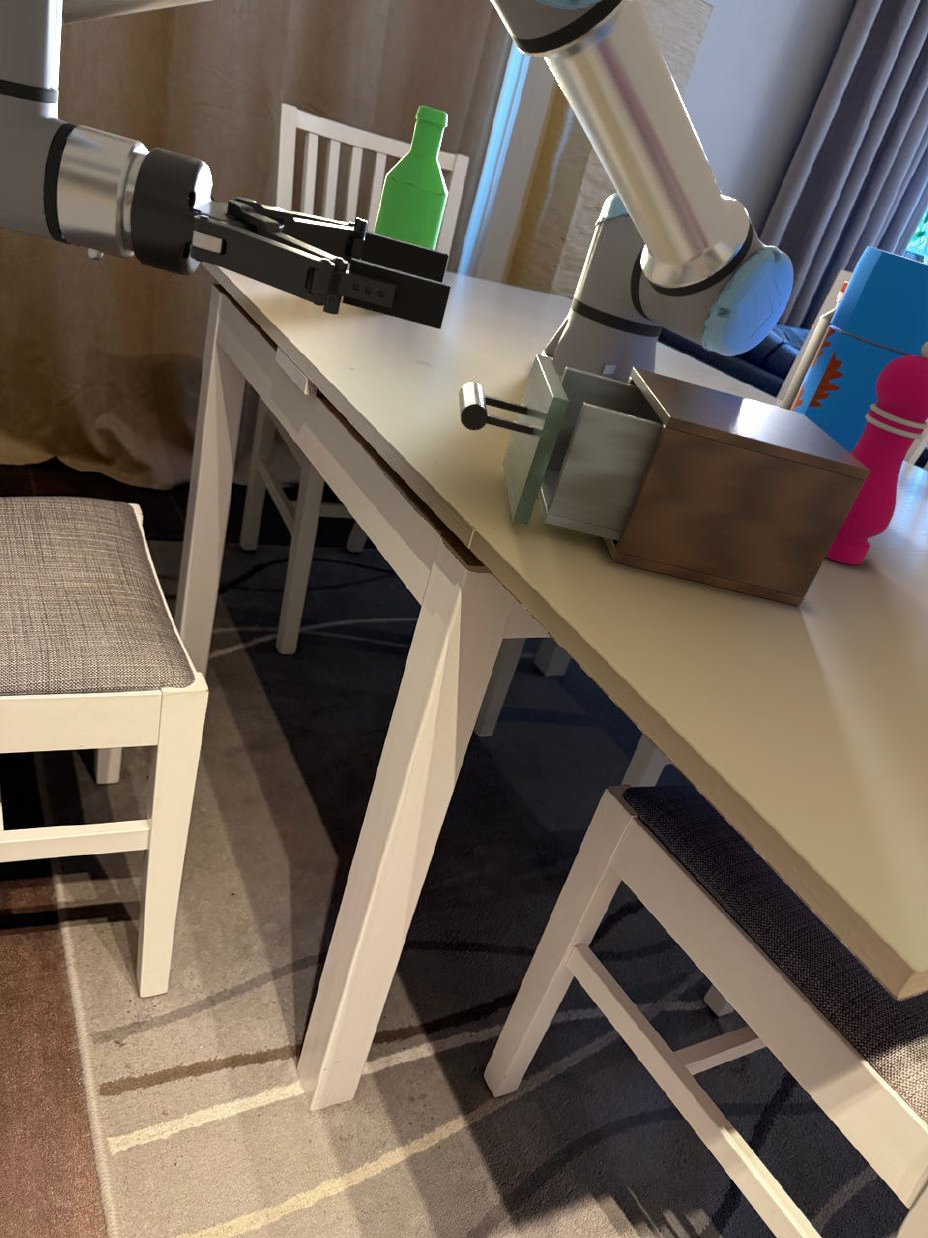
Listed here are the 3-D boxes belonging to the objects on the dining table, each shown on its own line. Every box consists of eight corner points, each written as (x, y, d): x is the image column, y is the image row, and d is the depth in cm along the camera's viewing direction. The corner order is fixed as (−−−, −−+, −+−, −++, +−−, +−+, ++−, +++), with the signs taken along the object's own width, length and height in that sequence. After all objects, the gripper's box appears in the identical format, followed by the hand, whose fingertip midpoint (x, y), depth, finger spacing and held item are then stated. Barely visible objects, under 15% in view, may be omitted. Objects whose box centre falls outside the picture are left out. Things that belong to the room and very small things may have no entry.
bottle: (412, 312, 126) (458, 116, 114) (354, 293, 127) (394, 95, 115) (426, 304, 134) (471, 119, 122) (371, 286, 134) (411, 101, 123)
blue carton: (851, 496, 104) (966, 276, 92) (857, 524, 94) (985, 283, 83) (761, 463, 105) (861, 243, 94) (758, 488, 96) (869, 246, 84)
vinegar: (765, 418, 129) (828, 276, 120) (788, 418, 134) (851, 281, 124) (805, 437, 125) (874, 292, 116) (827, 436, 130) (895, 297, 120)
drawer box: (613, 561, 68) (670, 416, 62) (587, 493, 79) (633, 366, 74) (800, 606, 70) (871, 470, 65) (747, 534, 82) (804, 414, 76)
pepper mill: (783, 524, 87) (882, 319, 78) (851, 542, 88) (957, 342, 79) (805, 555, 81) (916, 337, 72) (878, 575, 82) (998, 361, 72)
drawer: (440, 505, 66) (476, 376, 61) (440, 449, 76) (470, 335, 72) (692, 566, 69) (745, 447, 64) (658, 504, 79) (701, 398, 75)
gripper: (182, 238, 73) (433, 306, 77) (75, 295, 52) (431, 386, 55) (192, 137, 70) (455, 213, 73) (82, 154, 48) (462, 261, 51)
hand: (445, 288), depth 64 cm, fingers open, 13 cm apart
